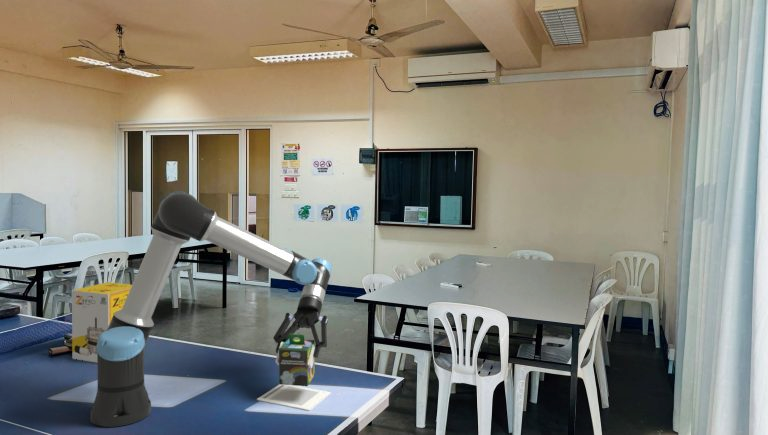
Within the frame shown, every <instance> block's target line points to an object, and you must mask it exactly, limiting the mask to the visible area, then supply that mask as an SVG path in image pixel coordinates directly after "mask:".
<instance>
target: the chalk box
mask: <svg viewBox="0 0 768 435" xmlns="http://www.w3.org/2000/svg"><path fill="white" fill-rule="evenodd" d="M295 338H298V339H295ZM313 345H315V340H314V339H305V335H304V334H301V333H294V334H289V339H288V340H287V341H286V342H284V343H283V344H282V346H281V347H280V348H279V365H278V385H280V384H283V385H295V386H300V387H309V385H310V384H311V382H312V380H313V379H314V377H315V375H316V374H315V373H316V371H315V370H316V369H315V368H316V367H315V366H316V362H315V361H316V360H315V359H314V363H313V366H312V369H310V368H309V366H308V361H309V357H310V353H311V349H312V346H313Z"/></svg>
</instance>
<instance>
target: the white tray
mask: <svg viewBox="0 0 768 435" xmlns="http://www.w3.org/2000/svg"><path fill="white" fill-rule="evenodd" d="M330 395H332V392H331V391H325V390H322V389H321V390H320V389H315V388H310V387H306V386H297V385H283V384H280V385H279V384H278V385H276V386H275V387H273V388H272V389H269V391H267V392H266V393H264V394H262V395H261V396H259V397H258V398H256V401H259V402H265V403H269V404H275V405H279V406H283V407H289V408H294V409H299V410H303V411H308V412H310V411H311V410H312V409H314V408H315V407H317V405H319V404H320V403H321V402H323V400H326V398H327V397H329V396H330Z"/></svg>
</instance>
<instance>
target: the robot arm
mask: <svg viewBox="0 0 768 435" xmlns="http://www.w3.org/2000/svg"><path fill="white" fill-rule="evenodd" d="M150 229H151V231H152V234H153V236H152V238H151V241H150V242H149V245H148V248H147V249H146V252H145V254H144V257H143V259H142V262H141V263H140V265H139V269H138V270H137V273H136V275H135V278H134V280H133V282H132V284H131V285H132V287H131V289H130V291H129V294H128V296H127V298H126V301H125V303H124V306H123V308H122V309H121V310H119V311H116V312H115V313H114V315H113V317H112V320H111V322H110V324H109V327H108V329H107V330H106V331H104V332H103V333H102V334H100V336H99V337H98V340H97V346H96V350H97V363H96V364H97V369H96V370H97V371H96V372H97V377H96V378H97V391H96V395H95V397H94V402H93V405H92V406H91V410H90V422H91V424H93V425H95V426H99V427H104V428H109V427H110V428H113V427H123V426H127V425H132V424H134V423H138V422H140V421H142V420H143V419H146V418H147V417H148V416H149V415H150V414H151V412H152V402H151V399H150V398H149V397H150V396H149V393H148V391H147V388H146V386H145V352H146V346H147V342H148V339H149V338H150V335H151V332H152V330H153V328H154V325H155V323H154V321H153V318H152V316H153V314H154V312H155V309H156V307H157V304H158V303H159V300H160V298H161V295H162V293H163V290H164V288H165V286H166V283H167V281H168V278H169V276H170V275H171V272H172V269H173V266H174V265H175V261H176V259H177V258H178V255H179V252H180V251H181V247H182V245H184V244H186V243H189V242H190V239H194V240H195V241H198V242H203V241H206V242H210V244H214V245H216V246H217V247H218V246H219V247H220V248H222V249H225V250H226V251H229V252H231V253H234V254H236V255H238V256H240V257H242V258H244V259H247V260H249V261H251V262H253V263H255V264H258V265H260V266H262V267H264V268H267V269H268V270H271V271H273V272H275V273H277V274H279V275H282V276H284V277H286V278H289V279H290V280H292V281H294V282H295V283H297V284H299V285H302V286H303V288H302V292H301V295H300V299H299V301H298V305H297V308H296V311H295V313H290V312H286V313H285V317H284V319H283V321H282V323H281V324H280V326H279V327H278V329H277V330H276V332H275V334H274V335H273V340H274V342H275V343H276V344H277V345H276V348H275V353H276V357H275V360H274V361H275V364H276V366H279V348H280V347H281V346H282V344H283V343H284V342H286V341H287V340H288V339H289V334H296V331H298V330H300V328H301V329H304V328H305V329H310V330H311V333H312V336H313V340H314V345H313V346H312V349H311V353H310V357H309V361H308V366H309V368H310V369H312V366H313V363H314V359H315V358H318V357H319V354H320V351H321V348H327V347H328V336H327V335H328V334H327V332H328V331H327V326H328V321H329V319H328V316H327V315H323V316H321V315H320V314H321V312H322V308H323V303H324V300H325V296H326V292H327V289H328V288H327V287H328V284H329V281H330V278H331V273H332V265H331V263H330V262H329V261H328V260H327V259H325V258H323V259H322V258H321V257H320V258H318V257H317V258H316V257H315V258H313V259H312V260H310V259H308V258H307V257H305V256H303V255H300V254H299V253H298V252H295V251H294V250H292V249H289V248H287V247H282V246H280V245H278V244H276V243H273V242H271V241H269V240H267V239H265V238H263V237H261V236H258V235H257V234H255V233H253V232H251V231H248V230H247V229H244V228H242V227H241V226H238V225H236V224H235V223H232V222H230V221H228V220H225V219H223V218H221V217H220V216H218V214H217V211H215V210H213V209H210V208H209V207H207V206H206V205H204V204H202V203H201V202H200V201H199V200H197V198H195V196H194V195H192V194H190V193H188V192H185V191H173V192H171V193H168V194H167V195H165V196H164V197H163V198H162V199H161V201H160V203H159V206H158V210H157V212H156V214H155V216H154V219H153V221H152V225H151V226H150ZM293 320H294V321H293ZM291 322H292V324H291ZM318 322H320V327H321V334H320V335H321V337H320V338H321V341H320V339H319V335H318V332H317V329H316V324H317V323H318ZM290 324H291V325H290Z"/></svg>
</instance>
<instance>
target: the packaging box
mask: <svg viewBox="0 0 768 435" xmlns="http://www.w3.org/2000/svg"><path fill="white" fill-rule="evenodd" d="M131 287H132V284H128V283H118V282H103V283H98V284H94V285H89V286H86V287H80V288H77V289H72V290H71V337H72V338H71V340H72V341H71V343H72V344H71V346H72V347H71V348H72V354H71V355H72V356H71V357H72V360H76V359H77V361H82V360H83V362H90V363H95V364H97V350H96V346H97V340H98V337H99V336H100V334H102V333H103V332H104V331H106V330H107V329H108V327H109V324H110V322H111V320H112V317H113V315H114V313H115V312H116V311H119V310H121V309H122V308H123V306H124V303H125V301H126V298H127V296H128V294H129V291H130V289H131Z"/></svg>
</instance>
